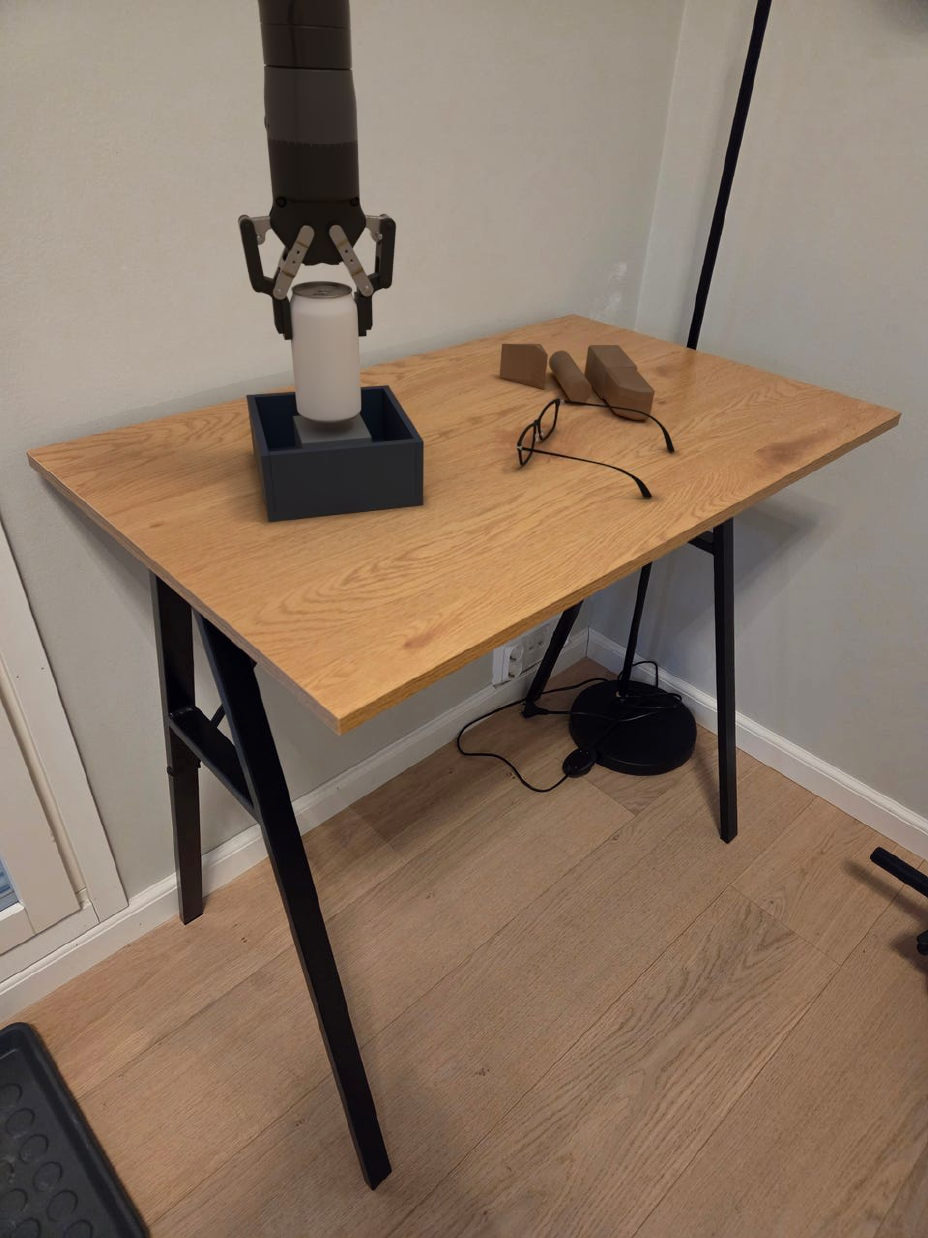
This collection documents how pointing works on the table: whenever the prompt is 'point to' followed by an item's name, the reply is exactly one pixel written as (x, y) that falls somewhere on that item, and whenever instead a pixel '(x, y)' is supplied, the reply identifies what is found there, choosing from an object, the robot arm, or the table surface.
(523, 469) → the table surface
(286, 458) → the crate
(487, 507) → the table surface
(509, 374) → the wooden block set
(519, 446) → the eyeglasses
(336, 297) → the can
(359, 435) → the grey block
